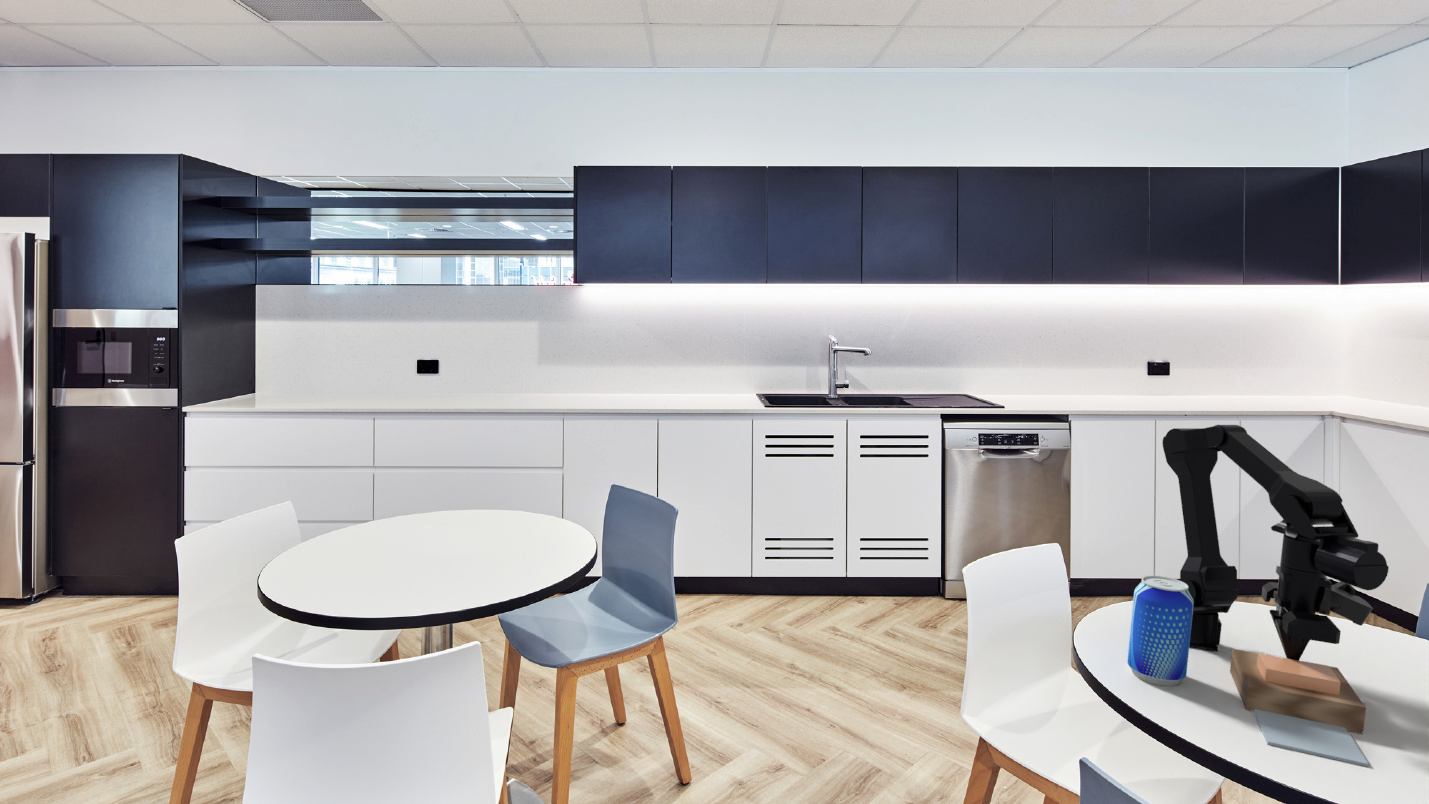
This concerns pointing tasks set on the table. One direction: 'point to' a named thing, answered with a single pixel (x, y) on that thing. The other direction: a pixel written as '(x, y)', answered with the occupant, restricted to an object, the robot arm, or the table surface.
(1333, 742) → the mat
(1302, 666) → the peach rectangular block
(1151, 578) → the beer can
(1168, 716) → the table surface
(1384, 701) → the table surface
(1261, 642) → the table surface
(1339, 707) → the brown box
